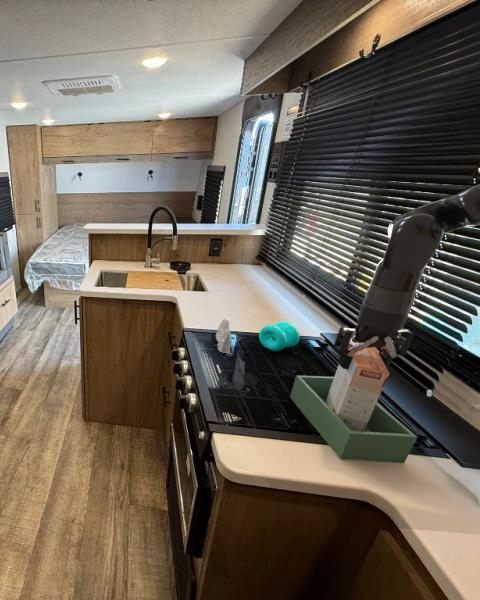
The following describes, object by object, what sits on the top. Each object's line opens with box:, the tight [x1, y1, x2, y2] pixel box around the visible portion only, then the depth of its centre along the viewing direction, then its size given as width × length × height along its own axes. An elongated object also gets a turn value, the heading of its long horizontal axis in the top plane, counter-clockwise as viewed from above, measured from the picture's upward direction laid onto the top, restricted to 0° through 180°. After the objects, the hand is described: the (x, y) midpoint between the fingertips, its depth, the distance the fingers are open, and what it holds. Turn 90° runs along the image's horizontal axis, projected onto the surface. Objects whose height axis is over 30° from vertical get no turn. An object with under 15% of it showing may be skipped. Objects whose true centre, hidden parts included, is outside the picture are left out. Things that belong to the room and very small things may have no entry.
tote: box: [289, 375, 418, 464], centre depth 79 cm, size 14×22×8 cm, turn 174°
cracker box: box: [325, 341, 390, 432], centre depth 76 cm, size 14×6×21 cm, turn 147°
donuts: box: [258, 320, 301, 352], centre depth 115 cm, size 10×10×10 cm
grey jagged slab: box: [215, 317, 232, 355], centre depth 116 cm, size 12×4×11 cm, turn 163°
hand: (362, 368), depth 73 cm, fingers closed on cracker box, 8 cm apart
